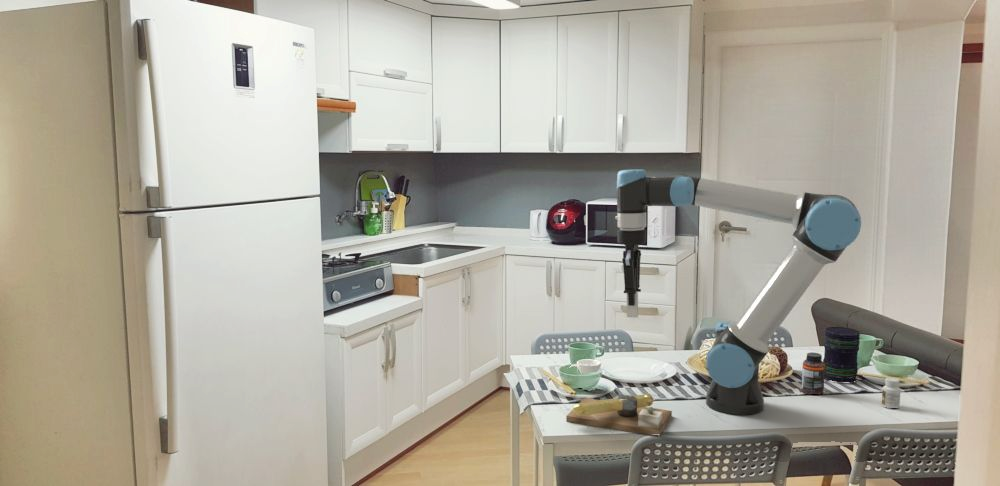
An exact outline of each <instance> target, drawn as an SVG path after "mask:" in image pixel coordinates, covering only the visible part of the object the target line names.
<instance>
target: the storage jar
mask: <svg viewBox="0 0 1000 486" xmlns="http://www.w3.org/2000/svg"><path fill="white" fill-rule="evenodd" d="M824 330H825V331H824V337H823V338H824V340H823V347H824V355H823V356H824V357H823V358H822V362H824V364H825V374H824V378H825V379H827V380H832V381H837V382H854V381H856V380H858V378H857V376H858V371H859V369H858V365H859V363H858V354H859V353H858V352H859V350H860V343H861V342H860V339H861V338H860V335H861V332H860V331H859V330H857V329H855V328H850V327H844V326H843V327H842V326H831V327H830V326H829V327H825V329H824ZM825 379H824V380H825ZM827 380H826V381H827ZM856 382H857V381H856Z"/></svg>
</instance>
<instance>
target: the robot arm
mask: <svg viewBox="0 0 1000 486" xmlns="http://www.w3.org/2000/svg"><path fill="white" fill-rule="evenodd" d="M616 177H617V178H616V189H615V190H616V205H617V206H616V208H617V211H616V212H617V213H616V215H615V218H614V220H617V228H619V229H618V230H617V234H616V235H617V237H616V239H617V241H616V242H617V244H619V245H624V247H625V248H624V250H623V251H622V253H623V254H622V256H623V257H622V260H621V261H622V264H623V265H622V267H623V280H624V291H623V294H626V317H627V318H639V293H641V292H642V289H641V288H640V287H641V285H640V282H641V281H640V280H641V279H640V277H641V276H640V275H641V258H642V250H641V249H640V248H639V246H640V245H644V244H646V243H647V230H646V229H645V228H646V227H647V207H653V206H654V207H677V208H681V207H688V206H696V207H703V208H706V209H712V210H717V211H722V212H728V213H733V214H738V215H744V216H749V217H752V218H753V217H754V218H759V219H763V220H768V221H773V222H779V223H783V224H784V223H785V224H790V225H792V226H793V227H794V229H795V230H794V232H793V234H792V235H791V236H792V241H793V243H792V244H793V245H792V246H791V247H790V248H789V250H788V251H787V253H786V254H785V256H784V257H783V258H782V259H781V261H780V263H779V264H778V266H777V267H776V268H775V270H774V271H773V272H772V273H771V275H770V277H769V278H768V279H767V281H766V282H765V283H764V285H763V286H762V287H761V289H760V291H759V292H758V294H756V296H755V298H754V299H753V300H752V301H751V303H750V305H749V306H748V307H747V309H746V310H745V312H744V313H743V314H742V316H741V317H740V318H739V320H738V321H720V322H718V323H717V324H716V326H715V330H714V332H715V340H714V343H713V344H712V346H711V347H710V349H709V350H708V351H707V354H706V358H705V368H706V372H707V374H708V375H709V377H710V378H711V382H710V385H709V387H708V390H707V392H706V395H705V396H706V397H705V398H706V399H705V404H706V405H707V406H708V407H709V408H710V409H712V410H715V411H716V412H720V413H724V414H730V415H742V416H744V415H747V416H748V415H756V414H759V413H761V412H762V411H763V410H764V408H765V407H764V406H765V400H764V399H765V398H764V396H763V393H762V389H761V385H760V382H759V374H760V373H759V371H760V364H761V363H762V361H763V360H764V359H765V357H766V356H767V355H768V353H769V352H770V348H769V344H768V343H769V341H770V340H771V338H772V337H773V336H774V334H775V333H776V331H777V330H778V329H779V327H780V326H781V324H782V323H783V322H784V321H785V319H786V318H787V316H788V315H789V314H790V313H791V311H792V309H793V308H794V307H795V306H796V304H797V303H798V302H799V300H800V299H801V298H802V296H803V295H804V294H805V292H806V291H807V290H808V289H809V287H810V286H811V284H812V283H813V281H814V280H815V279H816V278H817V276H818V275H819V274H820V272H821V271H822V269H823V268H824V267H825V265H827V264H833V263H837V261H838V259H839V258H840V256H841V255H842V254H843V252H844V251H845V250H846V248H847V247H849V246H850V245H851V244H852V243H853V242H855V241H856V239H857V238H858V236H859V234H860V231H861V227H862V217H861V214H860V212H859V209H858V208H857V207H856V205H855V204H854V203H853V201H852V200H850V199H849V198H847V197H845V196H843V195H840V194H822V193H812V192H811V193H810V192H806V191H803V192H802V193H800V194H793V193H789V192H784V191H783V192H782V191H776V190H770V189H765V188H759V187H754V186H749V185H742V184H735V183H731V182H724V181H719V180H713V179H708V178H702V177H697V176H692V175H691V176H689V174H686V173H676V174H673V175H669V176H658V177H657V176H653V177H651V176H648V175H647V171H646V170H645V169H622V170H619V171H618V172H617V176H616Z"/></svg>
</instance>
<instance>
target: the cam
mask: <svg viewBox="0 0 1000 486" xmlns="http://www.w3.org/2000/svg"><path fill="white" fill-rule="evenodd" d="M653 402H654V398H653V396H652V395H651V394H648V393H645V394H637V395H627V394H625V395H619V396H618V397H616V398H608V399H601V400H600V401H593V402H586V403H580V402H578V403H576V404H575V405H574V406H573V408H572V410H573V411H574V413H575V414H576V415H577V416H585V415H592V414H599V413H605V412H612V411H618V412H617V413H618V414H619V415H621V416H624V417H633V416H636V415H637V408H640V407H651V406H652V405H653Z"/></svg>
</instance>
